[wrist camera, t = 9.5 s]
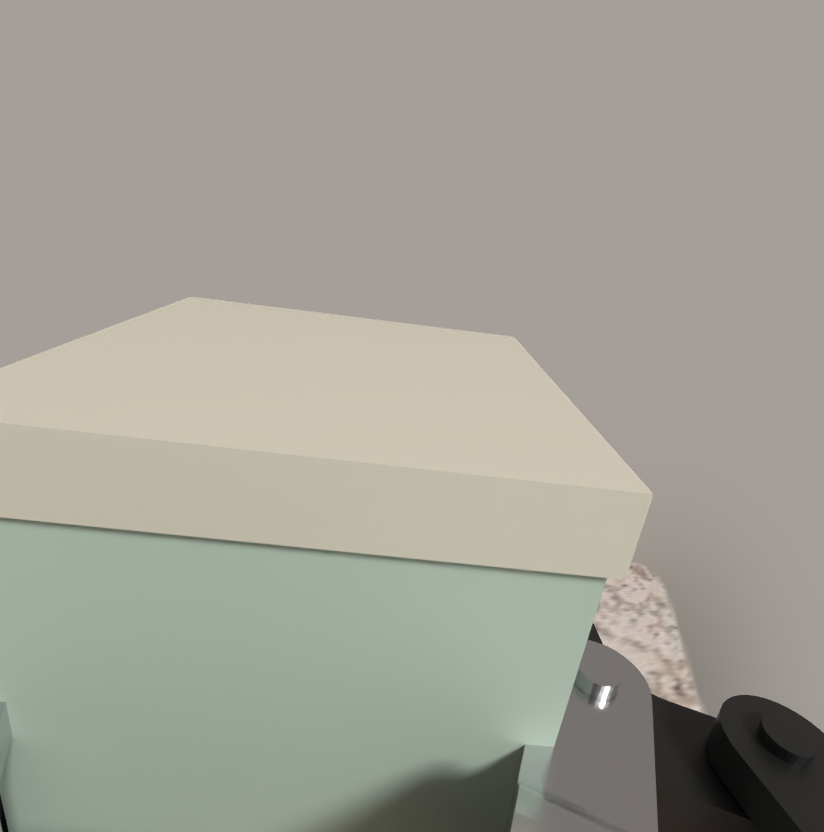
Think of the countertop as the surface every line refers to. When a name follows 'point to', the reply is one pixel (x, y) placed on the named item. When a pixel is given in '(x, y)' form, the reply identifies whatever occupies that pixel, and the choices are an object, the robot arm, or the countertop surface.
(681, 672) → the countertop surface
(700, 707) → the countertop surface
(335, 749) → the tea tin
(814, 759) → the robot arm
